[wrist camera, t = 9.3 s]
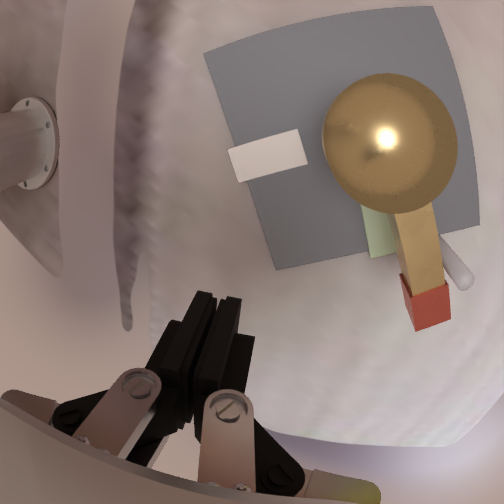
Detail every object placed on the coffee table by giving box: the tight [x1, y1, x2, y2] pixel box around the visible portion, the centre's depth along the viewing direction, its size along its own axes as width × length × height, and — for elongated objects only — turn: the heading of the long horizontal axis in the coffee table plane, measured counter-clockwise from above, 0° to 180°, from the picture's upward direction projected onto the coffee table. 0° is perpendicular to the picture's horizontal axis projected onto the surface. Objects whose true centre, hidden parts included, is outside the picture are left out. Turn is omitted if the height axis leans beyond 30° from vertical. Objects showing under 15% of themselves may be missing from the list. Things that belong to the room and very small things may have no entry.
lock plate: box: [204, 6, 480, 291], centre depth 19 cm, size 23×23×12 cm
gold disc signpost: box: [321, 73, 458, 332], centre depth 17 cm, size 16×8×4 cm, turn 24°
